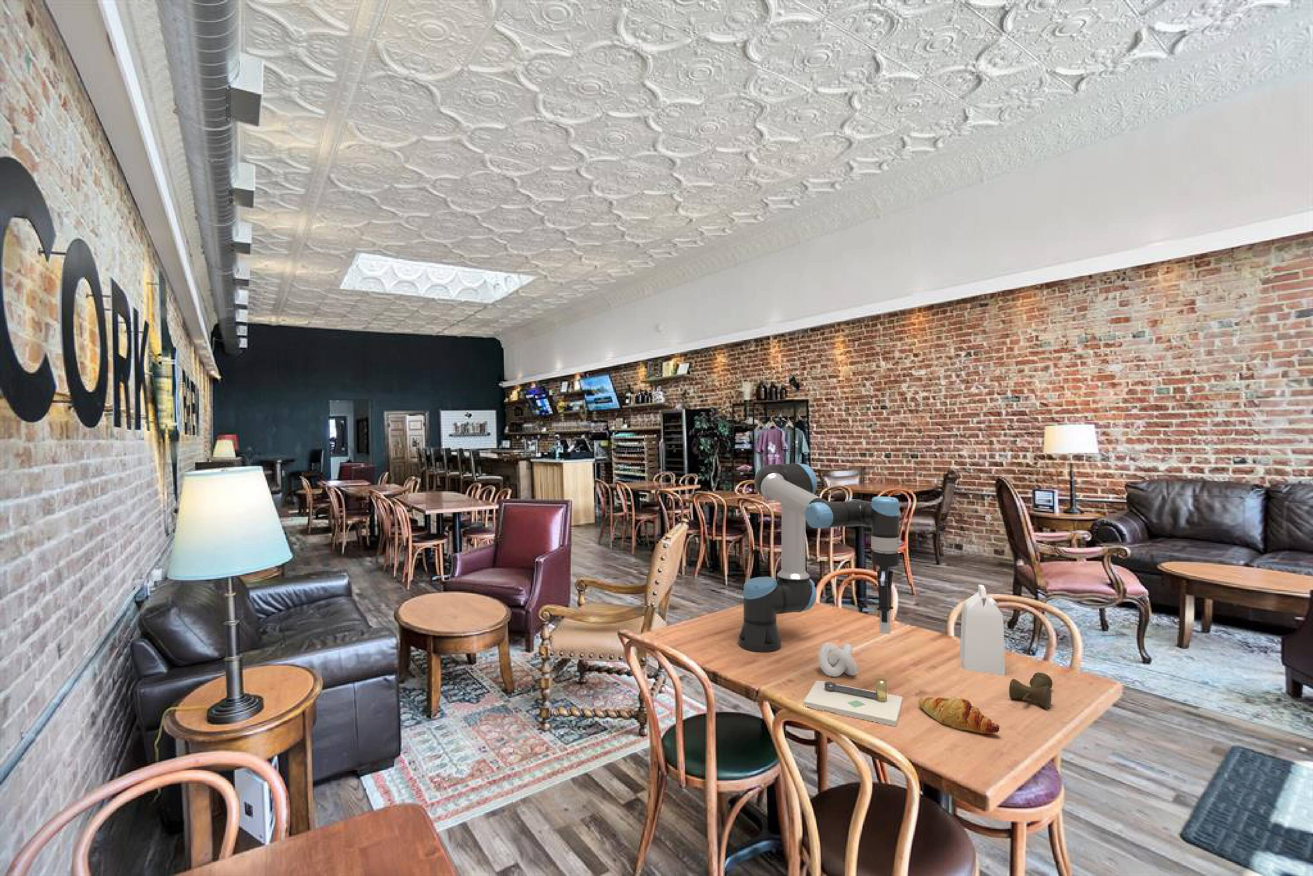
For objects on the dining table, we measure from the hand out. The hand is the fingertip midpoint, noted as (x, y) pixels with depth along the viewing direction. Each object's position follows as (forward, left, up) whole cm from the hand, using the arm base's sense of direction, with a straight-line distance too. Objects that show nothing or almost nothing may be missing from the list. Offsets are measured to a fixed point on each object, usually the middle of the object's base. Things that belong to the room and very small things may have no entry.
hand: (884, 632), depth 172 cm
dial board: (-7, -10, -18) cm, 22 cm away
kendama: (+38, +18, -19) cm, 46 cm away
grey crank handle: (-7, -7, -16) cm, 19 cm away
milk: (+25, +38, -19) cm, 49 cm away
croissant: (+19, -7, -19) cm, 28 cm away
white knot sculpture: (-15, +11, -19) cm, 26 cm away
